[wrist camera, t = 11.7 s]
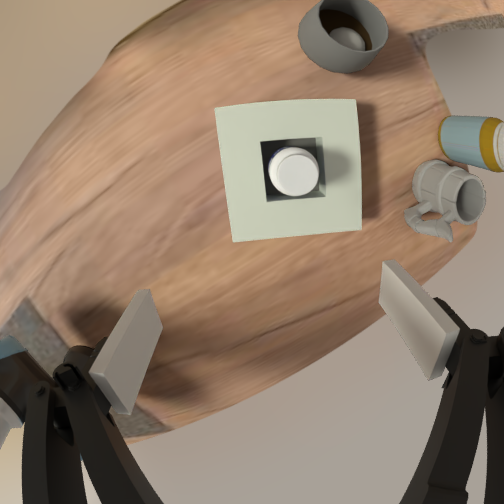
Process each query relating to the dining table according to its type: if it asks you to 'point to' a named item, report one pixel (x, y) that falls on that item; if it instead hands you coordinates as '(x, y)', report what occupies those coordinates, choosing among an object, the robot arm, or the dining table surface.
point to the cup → (343, 34)
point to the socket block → (296, 135)
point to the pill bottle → (293, 170)
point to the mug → (444, 198)
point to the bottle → (473, 141)
